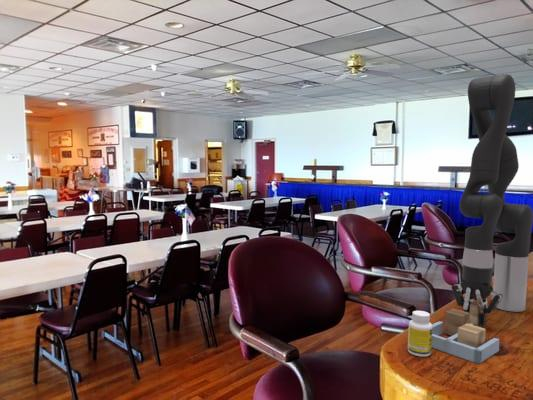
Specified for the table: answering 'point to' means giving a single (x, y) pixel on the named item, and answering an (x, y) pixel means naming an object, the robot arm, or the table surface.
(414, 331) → the supplement bottle
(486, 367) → the table surface
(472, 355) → the lane shelf
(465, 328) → the oak block
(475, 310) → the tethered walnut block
